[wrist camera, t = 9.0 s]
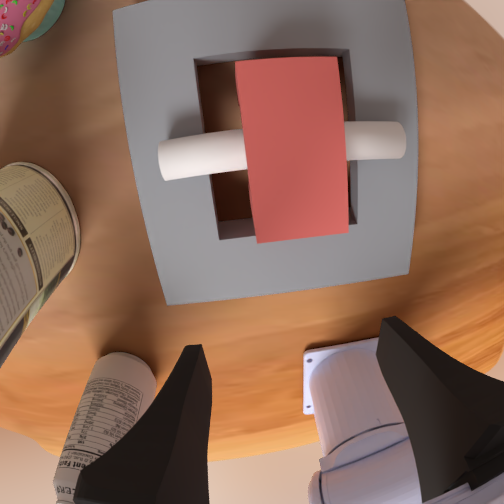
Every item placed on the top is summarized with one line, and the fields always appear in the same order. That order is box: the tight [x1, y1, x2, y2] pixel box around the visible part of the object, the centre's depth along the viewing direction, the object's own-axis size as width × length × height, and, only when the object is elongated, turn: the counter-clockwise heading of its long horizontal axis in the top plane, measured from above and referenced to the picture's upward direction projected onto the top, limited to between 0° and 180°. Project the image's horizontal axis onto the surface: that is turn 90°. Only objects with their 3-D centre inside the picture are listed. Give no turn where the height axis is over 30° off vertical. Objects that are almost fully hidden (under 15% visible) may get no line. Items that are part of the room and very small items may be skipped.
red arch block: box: [235, 57, 349, 244], centre depth 15 cm, size 8×4×6 cm, turn 6°
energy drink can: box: [53, 352, 157, 504], centre depth 19 cm, size 6×6×15 cm
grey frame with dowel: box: [113, 0, 418, 306], centre depth 16 cm, size 18×16×5 cm
